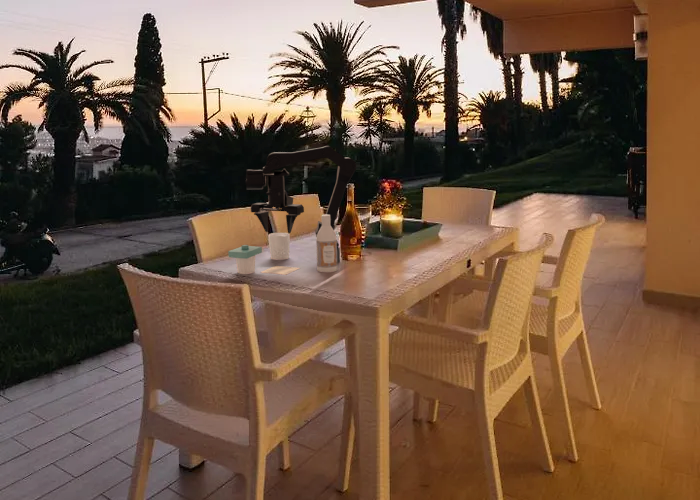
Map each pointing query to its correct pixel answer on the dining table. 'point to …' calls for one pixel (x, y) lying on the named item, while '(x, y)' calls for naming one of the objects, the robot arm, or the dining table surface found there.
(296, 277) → the dining table surface
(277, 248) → the white cup
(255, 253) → the lid
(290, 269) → the mat
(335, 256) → the bath foam
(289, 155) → the robot arm
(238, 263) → the cream round container
